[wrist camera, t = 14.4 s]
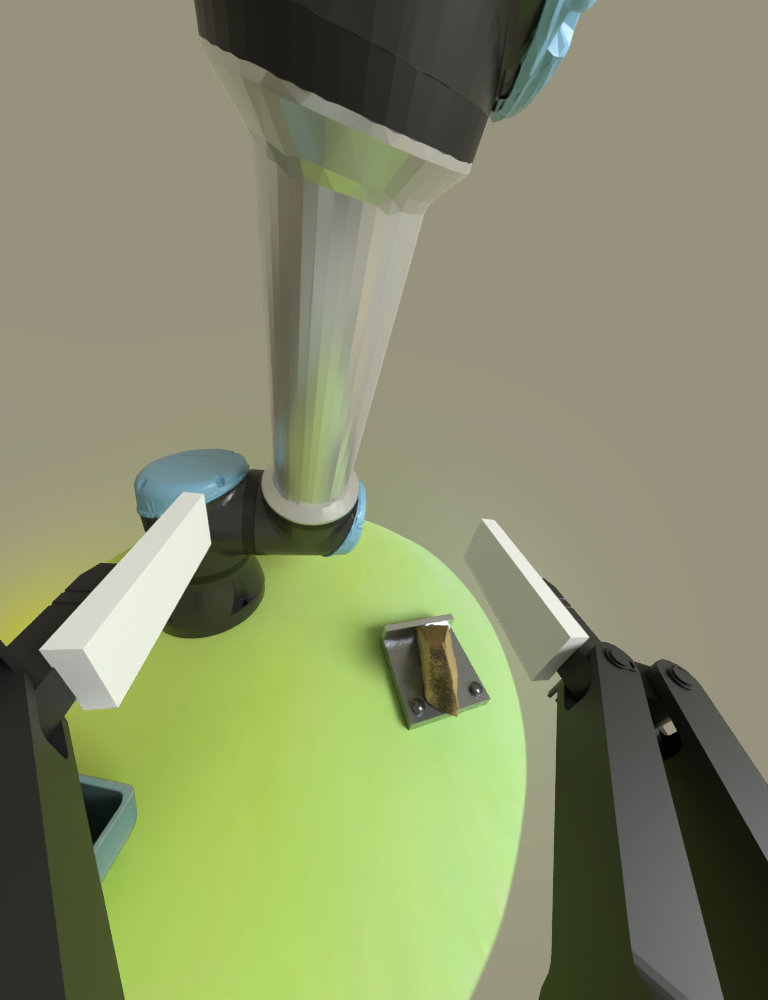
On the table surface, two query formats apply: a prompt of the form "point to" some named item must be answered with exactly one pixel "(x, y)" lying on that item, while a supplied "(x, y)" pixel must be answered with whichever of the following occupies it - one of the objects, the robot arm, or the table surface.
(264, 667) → the table surface
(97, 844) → the flower pot
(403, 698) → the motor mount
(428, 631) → the rock
